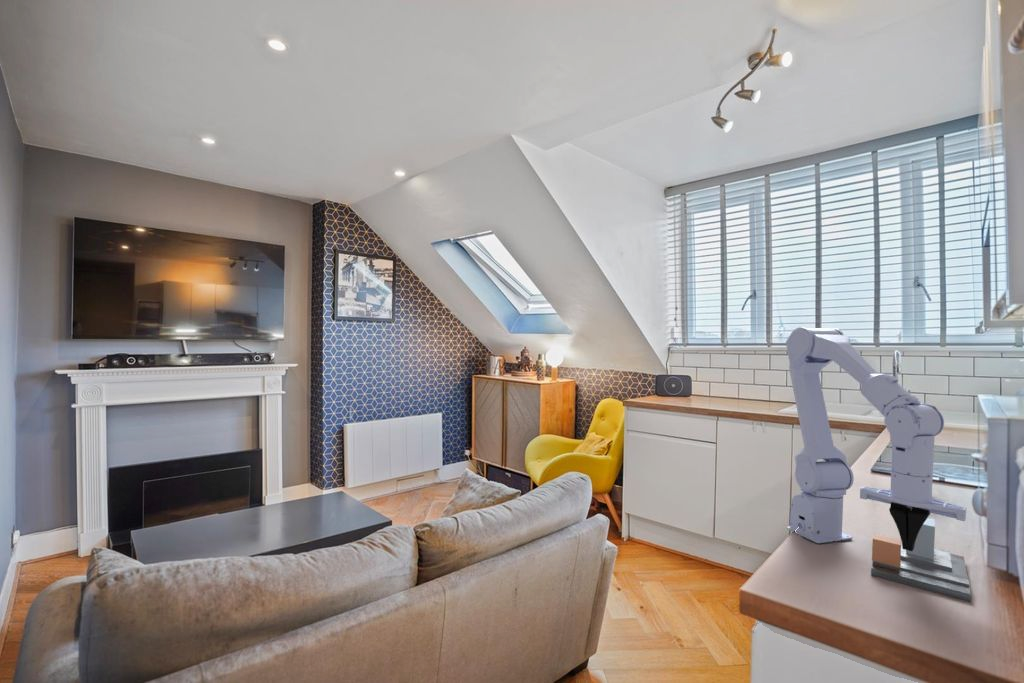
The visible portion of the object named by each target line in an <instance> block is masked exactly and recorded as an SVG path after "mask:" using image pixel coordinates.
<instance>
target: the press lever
mask: <svg viewBox="0 0 1024 683" xmlns="http://www.w3.org/2000/svg"><path fill="white" fill-rule="evenodd" d="M871 549H872V551H871V552H872V554H871V561H872V562H873V561H876V562H880V563H883V564H887V565H891V566H895V567H899V568H900V561H901V538H900V539H899V538H894V537H891V536H887V535H881V534H876V533H874V534H873V536H872V548H871Z"/></svg>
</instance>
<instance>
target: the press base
mask: <svg viewBox="0 0 1024 683" xmlns="http://www.w3.org/2000/svg"><path fill="white" fill-rule="evenodd" d="M870 576H872V577H873V576H874V577H878V578H881V579H885V580H887V581H891V582H896V583H899V584H903V585H907V586H910V587H914V588H918V589H921V590H926V591H929V592H933V593H937V594H940V595H944V596H947V597H952V598H956V599H959V600H962V601H967V602H971V600H972V599H971V597H972V595H971V589H970V588H971V587H970V586H971V585H970V580H969V579H968V572H967V567H966V562H965V557H964V556H963V555H958V554H954V553H951V551H950V550H946V549H942V548H936V547H934V559H930V558H926V557H922V556H917V555H913V554H909V553H906V550H904V549H903V548H902V541H901V561H900V568H899V567H895V566H891V565H887V564H883V563H880V562H876V561H872V564H871V567H870Z"/></svg>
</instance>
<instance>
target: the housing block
mask: <svg viewBox="0 0 1024 683" xmlns="http://www.w3.org/2000/svg"><path fill="white" fill-rule="evenodd" d="M935 520H936V519H935V518H929V517H928V518H927V519H926V521H925V522H924V524H923V525H922V527H921V529H920V531H919V533H918V535H917V538H916V541H915V545H914V549H913V551H908V550H906V553H909V554H913V555H917V556H922V557H926V558H930V559H934V548H935V539H936V538H935V536H936V534H935V533H936V523H935V522H936V521H935Z"/></svg>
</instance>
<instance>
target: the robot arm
mask: <svg viewBox="0 0 1024 683" xmlns="http://www.w3.org/2000/svg"><path fill="white" fill-rule="evenodd" d="M850 342H851V340H850V337H849V336H847V335H845V334H844V332H843V331H841V329H839V328H836V327H835V328H833V327H830V328H811V327H810V328H809V327H808V328H807V327H802V326H800V327H797V328H795V329H793V331H792V332H791V333H790V335H789V336H788V338H787V340H786V341H785V344H786V349H787V355H788V360H789V375H790V381H791V385H792V389H793V396H794V400H795V404H796V410H797V415H798V421H799V426H800V430H801V438H802V443H803V448H802V449H801V450H800V451H799V452H798V454H796V455H795V456H794V457H795V458H794V459H795V470H794V477H795V481H796V483H797V485H798V487H799V488H800V491H801V492H800V493H799V494H796V495H794V496H793V497H792V499H791V501H790V514H789V516H790V518H789V526H786V529H787V530H789V531H791V532H792V533H794V534H797V535H798V536H801V537H802V538H803V537H804V538H805V539H807V540H809V541H812V542H813V543H814V544H824V543H825V544H826V543H833V541H834V542H841V540H842V541H847V540H848V541H849V540H853V536H852V535H849V534H848V533H845V532H843V519H844V518H843V515H844V513H843V511H844V496H846V495H847V491H848V490H849V489H851V488H852V486H853V484H854V480H855V479H854V473H853V470H852V468H851V466H850V465H849V464H848V461H847V458H846V454H845V453H844V452H842V451H841V450H840V449H839V448H837V447H836V446H835V445H834V441H833V440H834V439H833V435H832V431H831V427H830V422H829V416H828V413H827V407H826V403H825V398H824V393H823V389H822V384H821V379H820V373H821V372H822V370H823V369H824V368H826V367H827V366H828V365H829V364H831V363H832V362H834V363H835V364H837V365H838V366H839V368H841V369H843V371H845V372H846V374H848V375H850V376H851V377H852V378H853V379H854V380H855V381H857V382H858V383H859V384H860V393H861V395H862V396H863V397H864V398H865V399H866V400H867V401H868V402H869V403H870V404H871V405H872V406H873V407H874V408H875V409H876V410H877V411H878V412H879V413H880V414H881V415H882V416H883V417H884V419H883V420H884V421H883V422H884V426H885V428H886V429H887V431H888V433H889V439H890V440H889V442H890V443H891V445H892V446H891V447H892V449H891V469H890V489H885V488H877V487H870V486H861V487H860V489H859V499H861V500H869V501H870V500H871V501H876V502H880V503H884V504H889V505H890V507H889V514H890V515H891V517H892V519H893V521H894V523H895V525H896V528H897V530H898V533H899V536H900V540H901V541H902V548H903V549H904V550H908V551H913V549H914V545H915V541H916V538H917V535H918V533H919V531H920V529H921V527H922V525H923V524H924V522H925V521H926V519H927V518H929V516H930V515H931V514H934V515H939V516H943V517H948V518H952V519H955V520H958V521H961V522H965V521H966V519H967V507H966V506H962V505H956V504H953V503H950V502H946V501H942V500H939V499H936V498H932V497H933V479H934V478H933V477H934V461H935V460H934V459H935V458H934V456H935V437H936V436H938V435H939V434H941V433H942V431H943V430H944V427H945V419H944V417H943V415H942V413H941V412H940V410H938V408H937V407H936V406H935V405H933V404H930V403H923V402H921V401H920V400H919V399H918V397H916V396H915V395H912V394H911V393H910V392H909V391H908V390H906V389H905V388H904V387H903V386H902V385H901V384H900V383H899V380H900V379H898V378H897V377H896V376H895V375H890V374H888V373H878V372H877V371H876V370H875V369H874V368H873V367H872V365H870V363H869V362H868V361H866V359H864V357H863V356H862V355H861V354H860V353H859V352H858V351H857V350H856V349H855V348H854V347H853V345H852V344H851V343H850ZM818 460H823V461H818ZM798 527H799V528H798ZM797 528H798V529H797ZM796 529H797V530H796ZM795 530H796V532H797V533H796V532H794V531H795Z"/></svg>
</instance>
